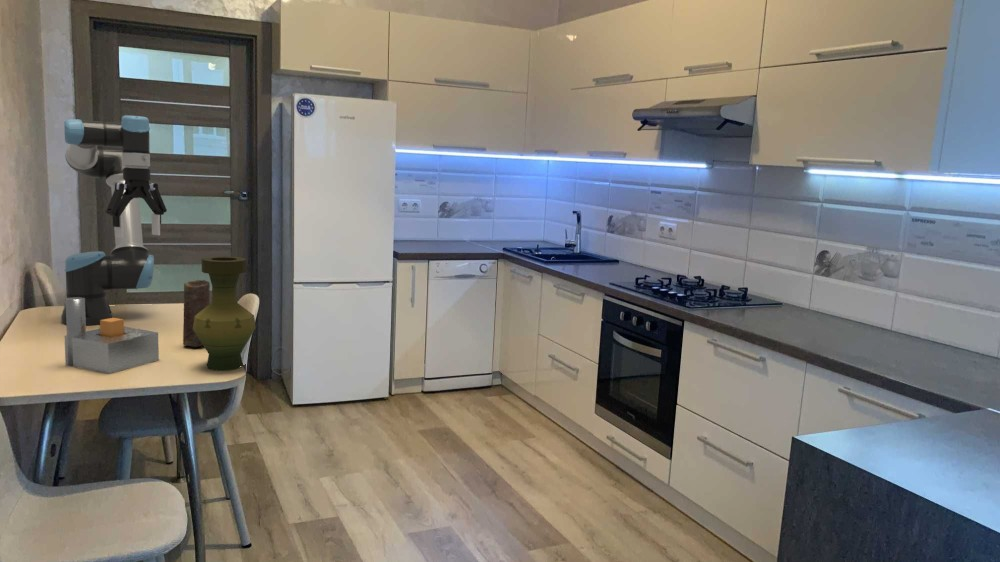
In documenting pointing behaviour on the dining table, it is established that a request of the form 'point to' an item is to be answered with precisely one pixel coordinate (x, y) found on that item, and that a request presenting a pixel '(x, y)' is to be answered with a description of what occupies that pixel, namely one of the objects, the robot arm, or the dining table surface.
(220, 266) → the vase
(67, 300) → the grey block with cylinder
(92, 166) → the robot arm
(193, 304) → the candle
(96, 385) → the dining table surface
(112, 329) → the orange rectangular block
